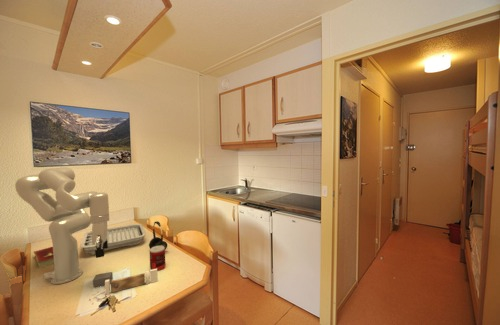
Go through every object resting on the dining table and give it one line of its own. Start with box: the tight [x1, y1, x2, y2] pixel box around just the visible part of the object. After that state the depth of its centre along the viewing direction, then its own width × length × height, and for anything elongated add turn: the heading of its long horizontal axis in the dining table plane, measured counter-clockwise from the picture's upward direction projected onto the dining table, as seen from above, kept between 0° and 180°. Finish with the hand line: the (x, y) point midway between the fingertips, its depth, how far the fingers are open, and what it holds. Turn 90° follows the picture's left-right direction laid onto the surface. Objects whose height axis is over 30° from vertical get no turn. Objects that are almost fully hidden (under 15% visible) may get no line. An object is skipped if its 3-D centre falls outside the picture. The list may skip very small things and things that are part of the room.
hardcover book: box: [33, 246, 54, 269], centre depth 130 cm, size 12×21×4 cm, turn 50°
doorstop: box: [92, 271, 114, 289], centre depth 104 cm, size 7×5×4 cm
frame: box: [104, 269, 159, 296], centre depth 101 cm, size 22×2×6 cm, turn 116°
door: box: [110, 272, 146, 293], centre depth 100 cm, size 14×2×5 cm, turn 116°
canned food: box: [149, 246, 166, 272], centre depth 117 cm, size 8×8×11 cm
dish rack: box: [79, 223, 146, 256], centre depth 150 cm, size 32×37×8 cm
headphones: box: [148, 221, 168, 251], centre depth 136 cm, size 9×15×20 cm, turn 44°
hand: (102, 252), depth 103 cm, fingers open, 9 cm apart
